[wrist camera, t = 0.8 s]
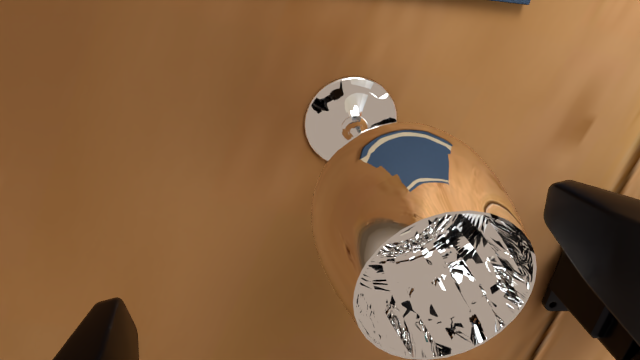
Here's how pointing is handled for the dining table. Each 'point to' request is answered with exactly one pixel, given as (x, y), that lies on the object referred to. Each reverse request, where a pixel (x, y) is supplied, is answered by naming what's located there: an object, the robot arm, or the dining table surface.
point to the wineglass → (412, 227)
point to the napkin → (515, 1)
